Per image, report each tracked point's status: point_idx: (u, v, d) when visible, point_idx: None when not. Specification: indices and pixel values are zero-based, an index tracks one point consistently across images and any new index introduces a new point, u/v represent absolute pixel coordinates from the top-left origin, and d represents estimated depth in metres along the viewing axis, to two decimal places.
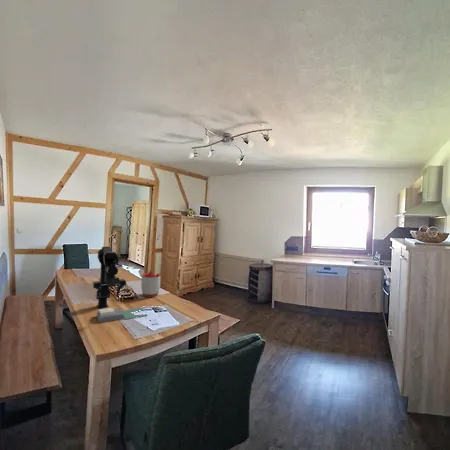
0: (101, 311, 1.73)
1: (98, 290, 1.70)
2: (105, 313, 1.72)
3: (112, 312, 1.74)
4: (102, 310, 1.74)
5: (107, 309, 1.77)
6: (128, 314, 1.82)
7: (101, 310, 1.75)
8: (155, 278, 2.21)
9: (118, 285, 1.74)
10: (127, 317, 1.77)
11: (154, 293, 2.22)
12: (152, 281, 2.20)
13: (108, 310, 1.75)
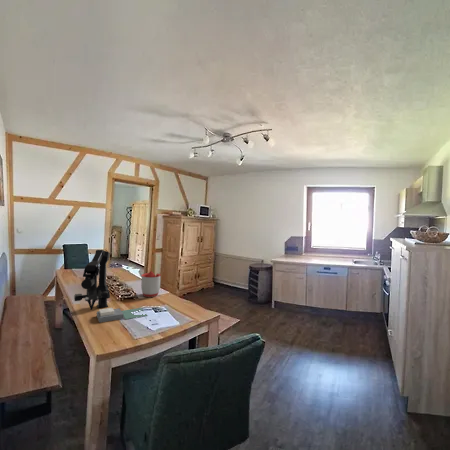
0: (101, 311, 1.73)
1: None
2: (105, 313, 1.72)
3: (112, 312, 1.74)
4: (102, 310, 1.74)
5: (107, 309, 1.77)
6: (128, 314, 1.82)
7: (101, 310, 1.75)
8: (155, 278, 2.21)
9: (92, 298, 1.70)
10: (127, 317, 1.77)
11: (154, 293, 2.22)
12: (152, 281, 2.20)
13: (108, 310, 1.75)
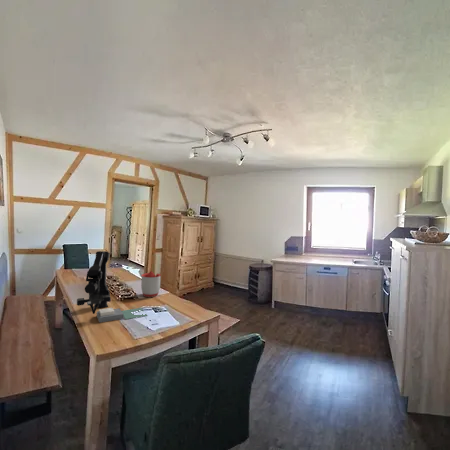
0: (101, 311, 1.73)
1: None
2: (105, 313, 1.72)
3: (112, 312, 1.74)
4: (102, 310, 1.74)
5: (107, 309, 1.77)
6: (128, 314, 1.82)
7: (101, 310, 1.75)
8: (155, 278, 2.21)
9: None
10: (127, 317, 1.77)
11: (154, 293, 2.22)
12: (152, 281, 2.20)
13: (108, 310, 1.75)
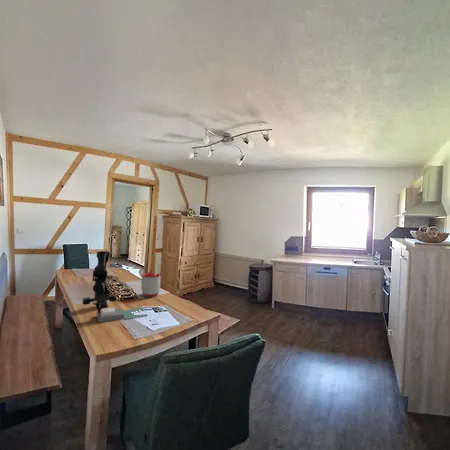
0: (102, 311, 1.73)
1: None
2: (106, 313, 1.72)
3: (113, 312, 1.74)
4: (103, 310, 1.74)
5: (108, 309, 1.77)
6: (128, 314, 1.82)
7: (102, 310, 1.75)
8: (155, 278, 2.21)
9: None
10: (127, 317, 1.77)
11: (154, 293, 2.22)
12: (152, 281, 2.20)
13: (109, 310, 1.75)
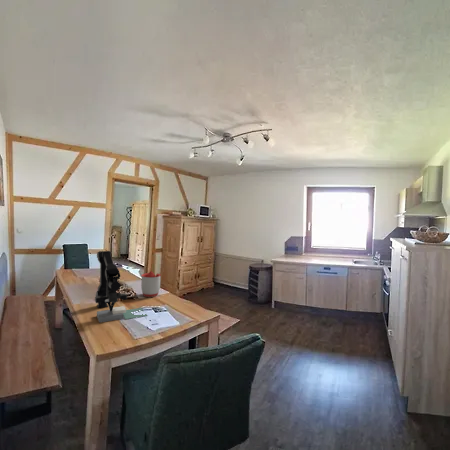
0: (113, 309, 1.77)
1: None
2: (117, 311, 1.76)
3: (124, 310, 1.78)
4: (114, 309, 1.78)
5: (119, 307, 1.80)
6: (128, 314, 1.82)
7: (113, 308, 1.78)
8: (155, 278, 2.21)
9: None
10: (127, 317, 1.77)
11: (154, 293, 2.22)
12: (152, 281, 2.20)
13: (120, 308, 1.79)
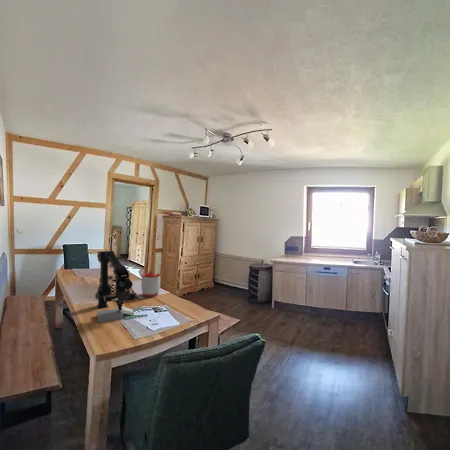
0: (122, 308, 1.80)
1: (116, 302, 1.80)
2: (126, 311, 1.78)
3: (132, 313, 1.80)
4: (123, 308, 1.80)
5: (127, 309, 1.83)
6: (128, 314, 1.82)
7: (122, 307, 1.81)
8: (155, 278, 2.21)
9: None
10: (127, 317, 1.77)
11: (154, 293, 2.22)
12: (152, 281, 2.20)
13: (128, 310, 1.82)
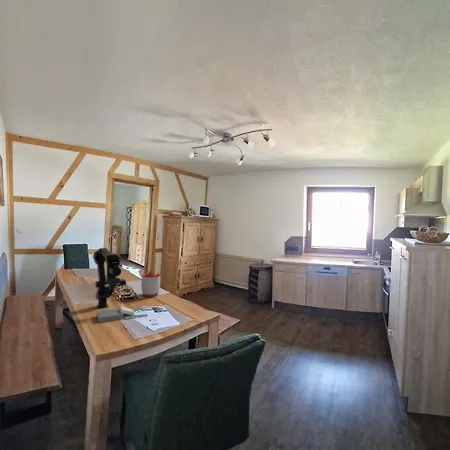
0: (122, 308, 1.80)
1: None
2: (126, 311, 1.78)
3: (132, 313, 1.80)
4: (123, 308, 1.81)
5: (127, 309, 1.83)
6: (128, 314, 1.82)
7: (122, 307, 1.81)
8: (155, 278, 2.21)
9: (112, 285, 1.84)
10: (127, 317, 1.77)
11: (154, 293, 2.22)
12: (152, 281, 2.20)
13: (128, 310, 1.82)
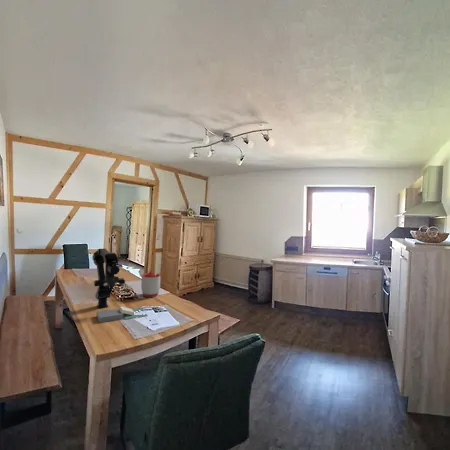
0: (122, 308, 1.80)
1: None
2: (126, 311, 1.78)
3: (132, 313, 1.80)
4: (123, 308, 1.81)
5: (127, 309, 1.83)
6: (128, 314, 1.82)
7: (122, 307, 1.81)
8: (155, 278, 2.21)
9: (110, 284, 1.85)
10: (127, 317, 1.77)
11: (154, 293, 2.22)
12: (152, 281, 2.20)
13: (128, 310, 1.82)
